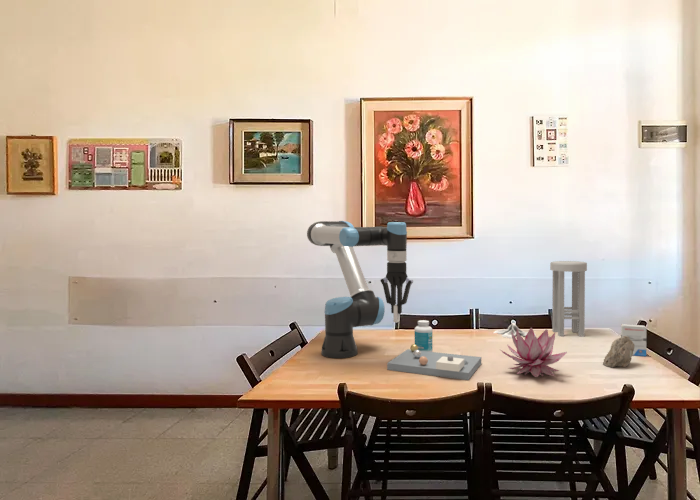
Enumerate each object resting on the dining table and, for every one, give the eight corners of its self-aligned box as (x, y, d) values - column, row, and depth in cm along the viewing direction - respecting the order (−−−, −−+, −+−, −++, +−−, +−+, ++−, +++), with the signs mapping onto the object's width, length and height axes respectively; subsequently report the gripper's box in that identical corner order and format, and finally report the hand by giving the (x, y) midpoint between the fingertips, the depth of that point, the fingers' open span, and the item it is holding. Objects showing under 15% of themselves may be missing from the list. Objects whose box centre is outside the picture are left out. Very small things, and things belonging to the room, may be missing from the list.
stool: (546, 330, 237) (547, 261, 236) (579, 330, 235) (579, 260, 234) (555, 337, 222) (556, 263, 221) (590, 337, 220) (591, 263, 219)
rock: (628, 355, 167) (605, 344, 172) (619, 378, 171) (597, 366, 177) (643, 340, 175) (620, 330, 181) (634, 362, 180) (613, 352, 185)
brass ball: (409, 352, 189) (409, 344, 189) (411, 350, 192) (411, 342, 192) (416, 353, 187) (416, 345, 187) (419, 351, 190) (419, 343, 190)
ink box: (644, 353, 191) (644, 325, 191) (646, 356, 187) (646, 327, 186) (620, 351, 195) (620, 323, 194) (621, 354, 190) (622, 325, 190)
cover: (436, 369, 165) (436, 358, 165) (442, 363, 172) (442, 353, 172) (458, 371, 161) (458, 361, 161) (464, 365, 168) (464, 355, 168)
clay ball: (417, 365, 171) (417, 356, 170) (420, 363, 173) (420, 354, 173) (426, 366, 169) (426, 357, 169) (429, 364, 172) (428, 355, 172)
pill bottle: (432, 355, 193) (432, 323, 192) (414, 355, 194) (413, 322, 194) (432, 351, 200) (432, 319, 200) (415, 350, 202) (414, 319, 201)
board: (387, 369, 175) (387, 363, 174) (407, 355, 194) (407, 349, 194) (468, 380, 161) (468, 373, 161) (481, 363, 181) (481, 357, 181)
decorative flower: (560, 386, 153) (561, 341, 152) (494, 377, 164) (494, 334, 164) (569, 369, 171) (569, 328, 170) (509, 361, 182) (509, 323, 182)
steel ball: (412, 358, 180) (411, 350, 180) (414, 356, 183) (414, 348, 183) (420, 359, 179) (419, 351, 178) (422, 357, 181) (422, 349, 181)
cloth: (544, 338, 222) (544, 325, 222) (509, 341, 218) (509, 328, 217) (516, 329, 244) (517, 317, 244) (484, 331, 239) (484, 319, 239)
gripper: (377, 261, 182) (377, 322, 184) (409, 263, 177) (409, 325, 178) (384, 260, 189) (384, 318, 190) (415, 261, 183) (415, 321, 185)
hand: (396, 321), depth 184 cm, fingers closed
